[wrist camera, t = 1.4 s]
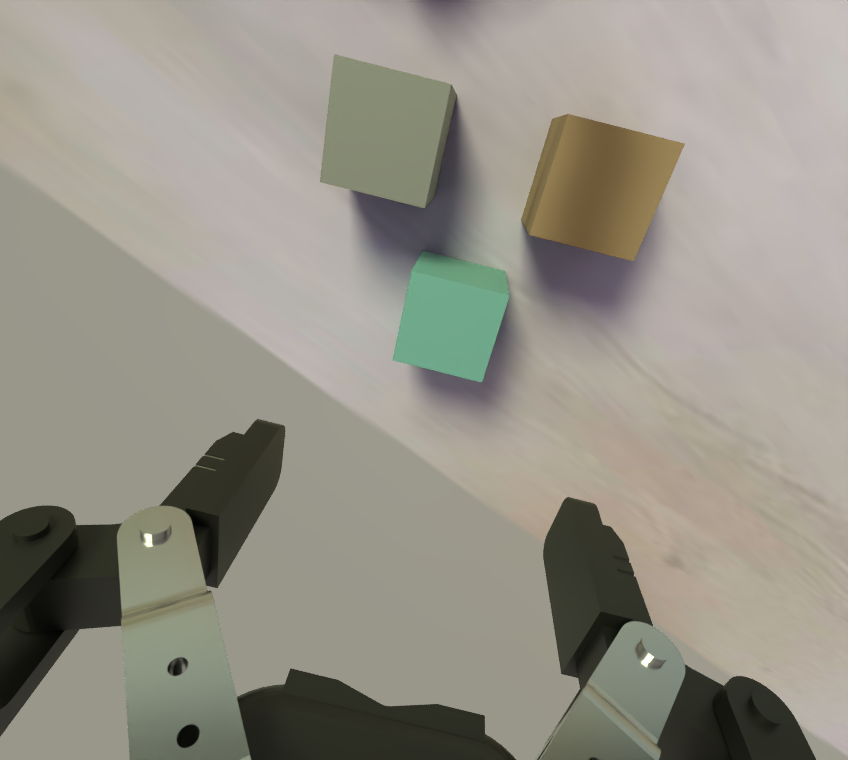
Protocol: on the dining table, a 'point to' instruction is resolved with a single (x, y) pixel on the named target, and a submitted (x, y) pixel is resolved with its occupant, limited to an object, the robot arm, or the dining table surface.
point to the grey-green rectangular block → (385, 131)
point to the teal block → (451, 316)
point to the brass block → (598, 185)
